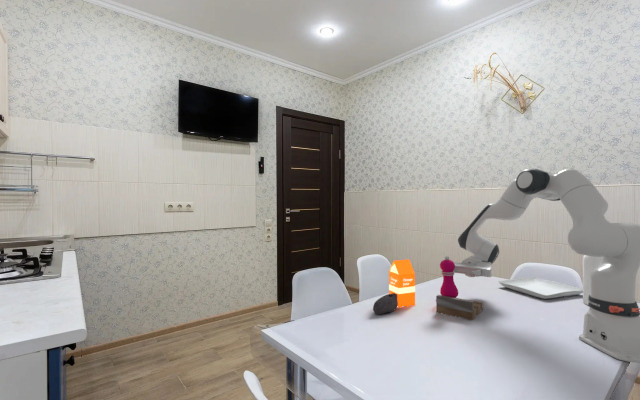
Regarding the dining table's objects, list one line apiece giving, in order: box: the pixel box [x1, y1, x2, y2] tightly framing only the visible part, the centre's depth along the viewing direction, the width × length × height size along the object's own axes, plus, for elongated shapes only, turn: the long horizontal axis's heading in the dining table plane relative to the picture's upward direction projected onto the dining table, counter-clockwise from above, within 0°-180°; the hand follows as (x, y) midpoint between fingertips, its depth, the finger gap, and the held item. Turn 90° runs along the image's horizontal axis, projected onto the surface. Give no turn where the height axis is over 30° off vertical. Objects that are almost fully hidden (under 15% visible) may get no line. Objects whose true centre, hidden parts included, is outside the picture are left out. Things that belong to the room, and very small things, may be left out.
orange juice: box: [388, 259, 416, 308], centre depth 147 cm, size 8×9×20 cm
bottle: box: [582, 255, 603, 306], centre depth 144 cm, size 8×8×30 cm
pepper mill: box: [439, 255, 459, 298], centre depth 138 cm, size 7×7×20 cm
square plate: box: [498, 277, 583, 300], centre depth 166 cm, size 27×27×4 cm
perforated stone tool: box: [372, 293, 398, 315], centre depth 137 cm, size 15×5×7 cm, turn 128°
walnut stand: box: [435, 294, 484, 321], centre depth 137 cm, size 16×14×7 cm
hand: (462, 272), depth 141 cm, fingers open, 8 cm apart
